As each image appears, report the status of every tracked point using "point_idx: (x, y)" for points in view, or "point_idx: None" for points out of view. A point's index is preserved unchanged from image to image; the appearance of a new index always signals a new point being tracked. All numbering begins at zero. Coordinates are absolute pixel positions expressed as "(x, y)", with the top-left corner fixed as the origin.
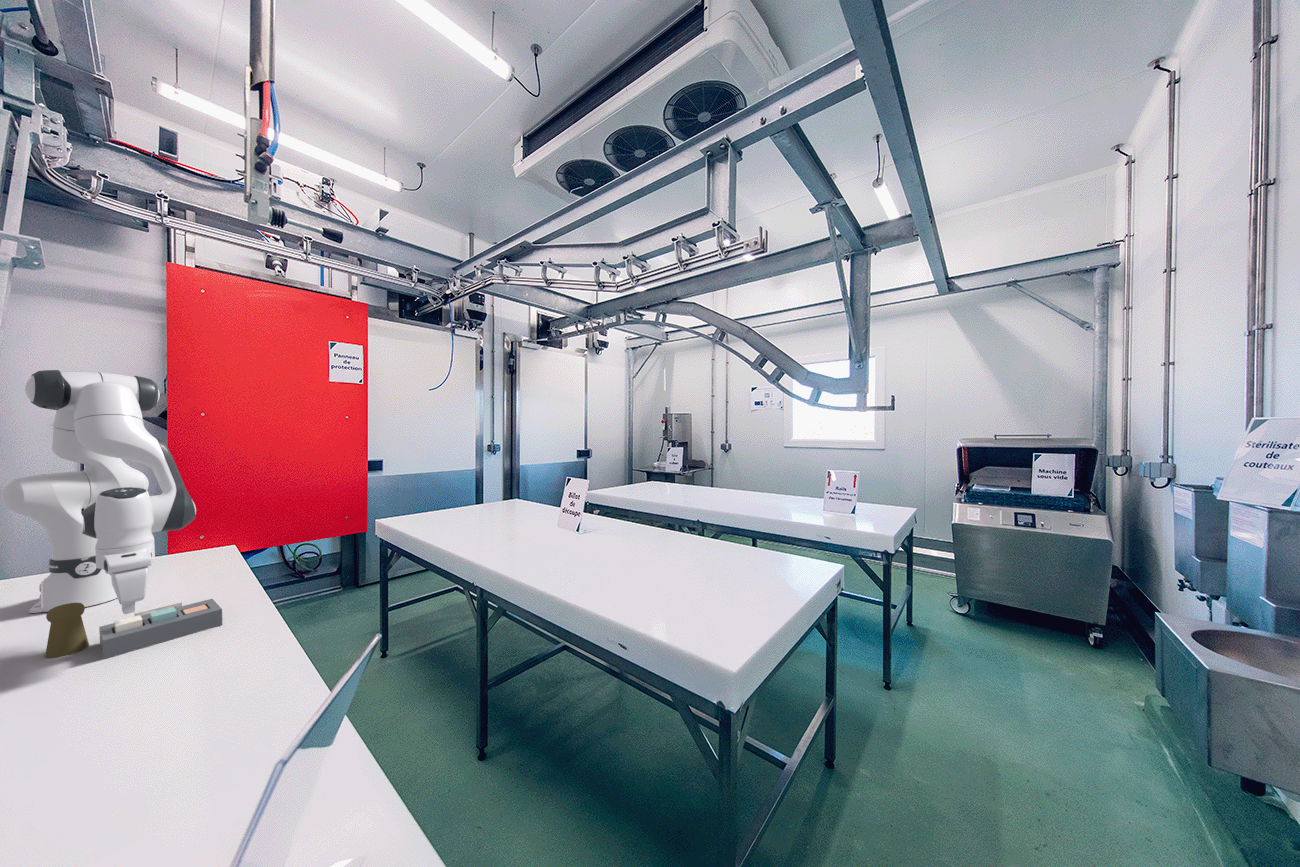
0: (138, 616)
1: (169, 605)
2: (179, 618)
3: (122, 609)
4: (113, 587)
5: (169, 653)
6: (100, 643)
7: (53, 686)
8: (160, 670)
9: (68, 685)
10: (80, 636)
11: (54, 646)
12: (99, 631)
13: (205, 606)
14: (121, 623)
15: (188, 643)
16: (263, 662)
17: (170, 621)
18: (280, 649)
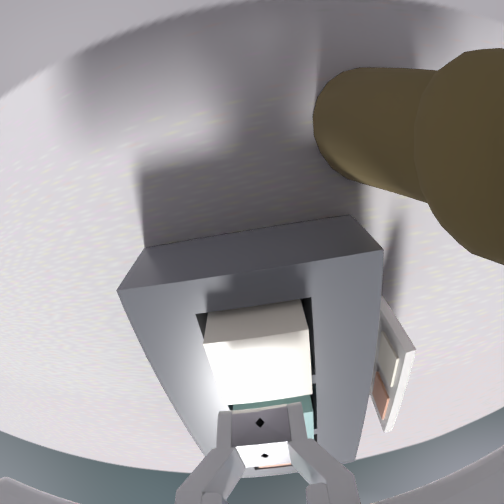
0: (294, 392)
1: (389, 414)
2: (214, 438)
3: (263, 421)
4: (448, 502)
5: (87, 368)
6: (317, 225)
7: (17, 167)
8: (10, 346)
9: (5, 202)
10: (364, 177)
11: (344, 90)
12: (369, 239)
13: (286, 464)
14: (233, 358)
15: (132, 396)
16: (6, 419)
17: (201, 427)
18: (37, 440)
